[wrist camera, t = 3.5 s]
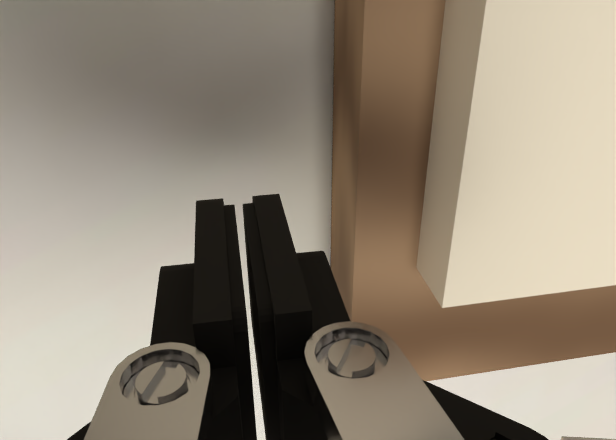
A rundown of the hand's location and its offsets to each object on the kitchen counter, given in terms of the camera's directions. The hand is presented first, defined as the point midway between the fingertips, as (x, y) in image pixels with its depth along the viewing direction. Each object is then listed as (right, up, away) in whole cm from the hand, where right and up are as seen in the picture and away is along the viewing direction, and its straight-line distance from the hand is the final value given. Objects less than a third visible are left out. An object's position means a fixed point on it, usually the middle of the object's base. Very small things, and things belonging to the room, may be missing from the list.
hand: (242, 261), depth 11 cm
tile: (+9, +3, +4) cm, 10 cm away
